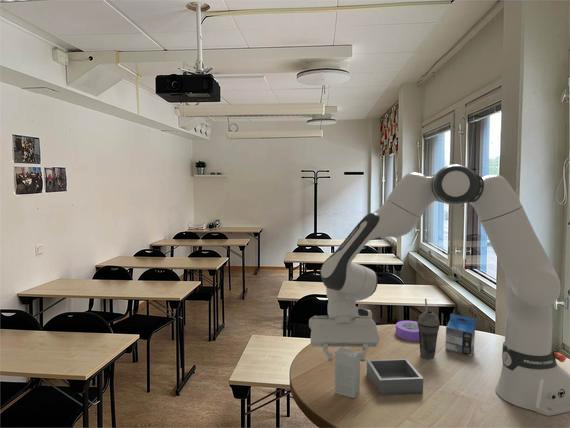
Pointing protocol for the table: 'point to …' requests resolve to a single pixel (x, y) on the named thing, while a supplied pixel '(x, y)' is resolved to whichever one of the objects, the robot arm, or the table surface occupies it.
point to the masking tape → (407, 330)
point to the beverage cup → (428, 333)
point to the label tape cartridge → (460, 335)
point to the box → (394, 377)
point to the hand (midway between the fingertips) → (346, 360)
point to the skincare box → (347, 372)
